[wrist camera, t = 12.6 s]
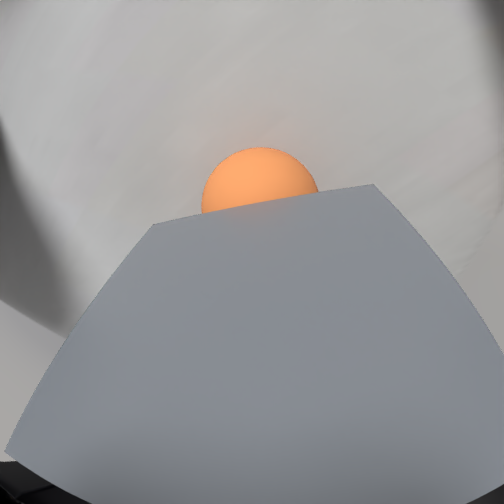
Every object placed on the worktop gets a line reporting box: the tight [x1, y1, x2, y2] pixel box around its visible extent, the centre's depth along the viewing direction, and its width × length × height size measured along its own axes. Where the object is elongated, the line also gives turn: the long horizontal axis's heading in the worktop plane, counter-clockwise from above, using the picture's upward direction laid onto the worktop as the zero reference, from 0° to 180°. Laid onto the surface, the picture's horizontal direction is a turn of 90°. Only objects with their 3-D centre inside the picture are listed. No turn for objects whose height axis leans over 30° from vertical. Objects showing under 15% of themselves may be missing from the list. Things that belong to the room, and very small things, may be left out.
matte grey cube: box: [5, 184, 504, 504], centre depth 7 cm, size 8×8×9 cm
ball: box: [202, 147, 318, 214], centre depth 12 cm, size 5×5×5 cm
